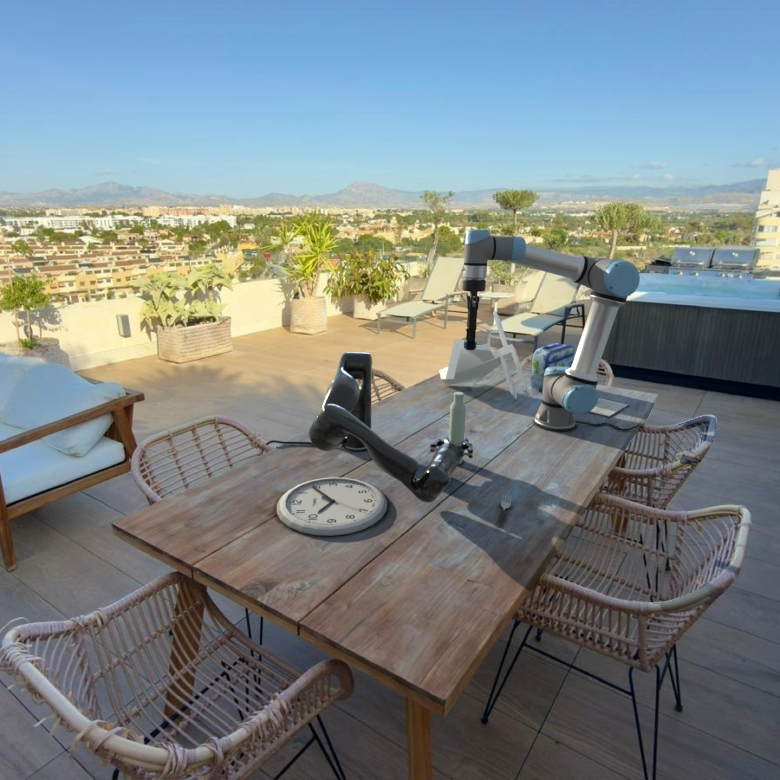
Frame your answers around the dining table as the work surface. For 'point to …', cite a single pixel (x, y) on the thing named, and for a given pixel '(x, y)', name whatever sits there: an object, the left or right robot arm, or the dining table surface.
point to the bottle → (457, 420)
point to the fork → (504, 505)
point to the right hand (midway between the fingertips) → (470, 348)
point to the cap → (466, 344)
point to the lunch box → (549, 361)
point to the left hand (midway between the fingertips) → (457, 439)
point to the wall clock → (331, 506)
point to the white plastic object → (482, 362)
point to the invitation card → (607, 407)
